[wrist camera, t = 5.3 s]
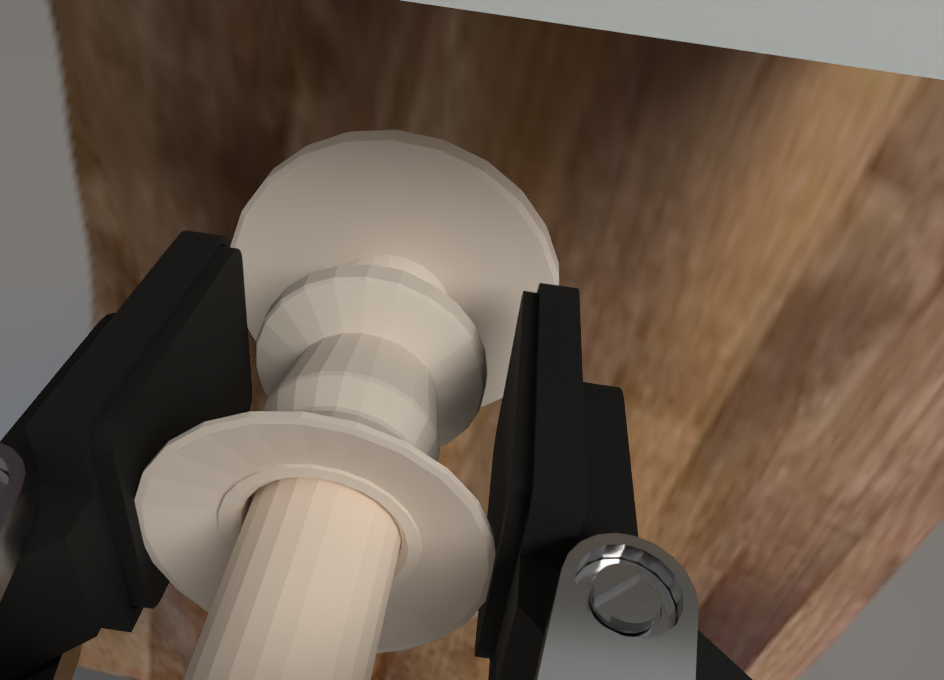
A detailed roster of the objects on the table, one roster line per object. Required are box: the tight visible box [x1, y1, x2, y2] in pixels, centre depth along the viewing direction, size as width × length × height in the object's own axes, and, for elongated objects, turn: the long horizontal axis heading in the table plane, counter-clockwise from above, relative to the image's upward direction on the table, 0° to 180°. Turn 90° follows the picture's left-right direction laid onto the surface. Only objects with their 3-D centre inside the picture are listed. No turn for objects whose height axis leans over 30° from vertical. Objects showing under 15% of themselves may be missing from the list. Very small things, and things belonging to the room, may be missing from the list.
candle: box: [134, 130, 559, 680], centre depth 8 cm, size 5×5×10 cm
